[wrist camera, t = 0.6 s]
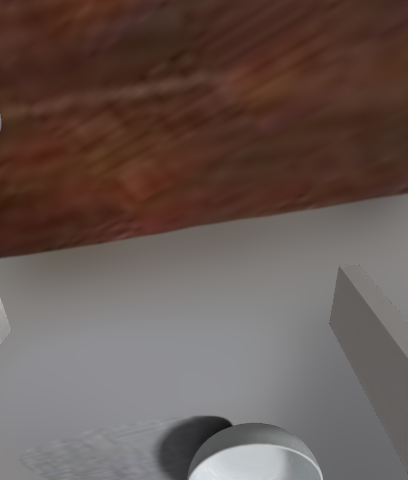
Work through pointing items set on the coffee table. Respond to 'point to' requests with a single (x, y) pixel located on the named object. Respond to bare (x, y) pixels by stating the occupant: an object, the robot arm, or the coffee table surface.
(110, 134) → the coffee table surface
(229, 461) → the serving bowl
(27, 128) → the coffee table surface
